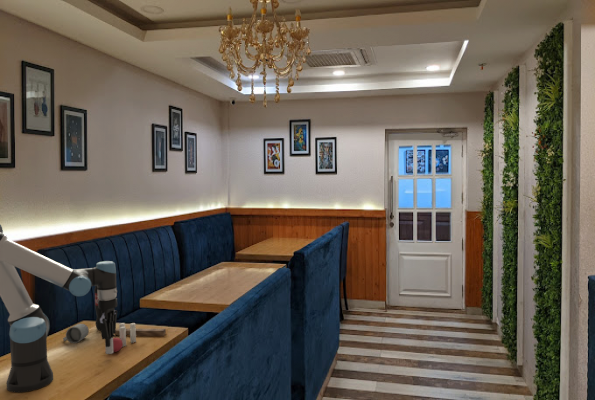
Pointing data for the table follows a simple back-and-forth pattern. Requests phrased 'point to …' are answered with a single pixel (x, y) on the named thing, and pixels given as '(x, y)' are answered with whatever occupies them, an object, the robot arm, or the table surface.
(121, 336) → the pin front
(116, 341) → the ball
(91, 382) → the table surface
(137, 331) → the back rail
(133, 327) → the pin
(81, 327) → the ceramic mug
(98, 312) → the cola bottle
